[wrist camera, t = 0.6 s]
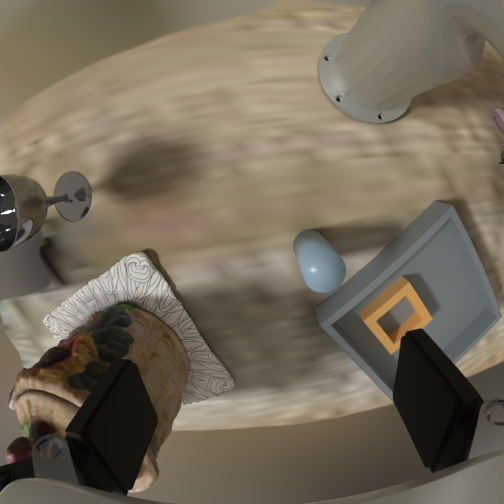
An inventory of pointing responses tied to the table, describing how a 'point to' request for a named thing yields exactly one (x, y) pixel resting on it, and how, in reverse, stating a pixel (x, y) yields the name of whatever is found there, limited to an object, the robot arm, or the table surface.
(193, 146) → the table surface
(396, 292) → the frame
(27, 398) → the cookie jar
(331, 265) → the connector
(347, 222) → the table surface
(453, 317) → the walled box
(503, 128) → the flower
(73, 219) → the wine glass
